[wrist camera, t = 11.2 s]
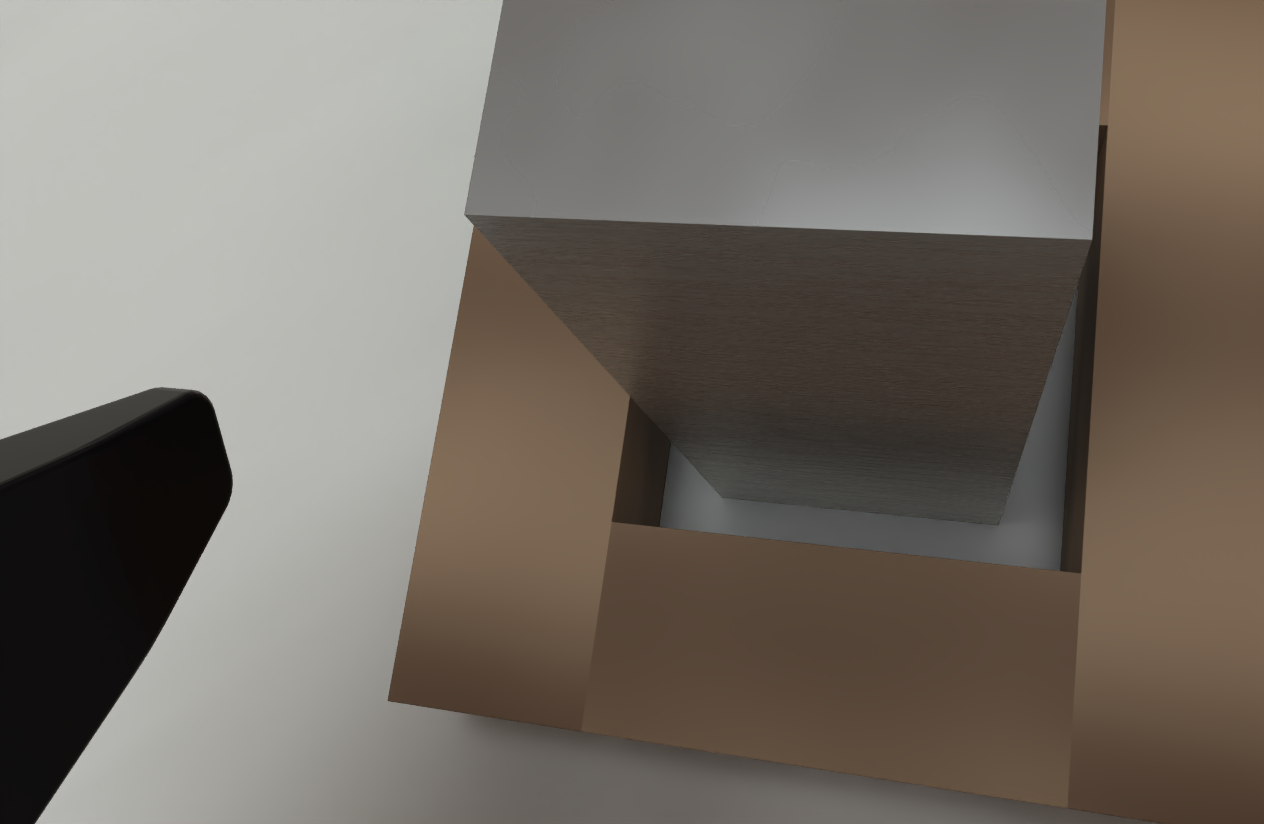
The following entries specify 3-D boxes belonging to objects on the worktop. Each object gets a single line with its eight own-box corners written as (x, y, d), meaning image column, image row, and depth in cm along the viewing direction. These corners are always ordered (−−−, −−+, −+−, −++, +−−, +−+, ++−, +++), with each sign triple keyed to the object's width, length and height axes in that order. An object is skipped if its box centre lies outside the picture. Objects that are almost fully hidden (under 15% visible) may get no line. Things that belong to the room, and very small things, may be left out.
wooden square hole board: (1265, 829, 17) (1331, 849, 14) (461, 704, 21) (387, 701, 18) (1283, 49, 20) (1342, -63, 17) (572, 47, 23) (523, -46, 20)
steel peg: (997, 525, 19) (1093, 240, 8) (722, 497, 20) (465, 214, 9) (1017, 261, 20) (1125, -325, 9) (753, 249, 21) (554, -283, 10)
